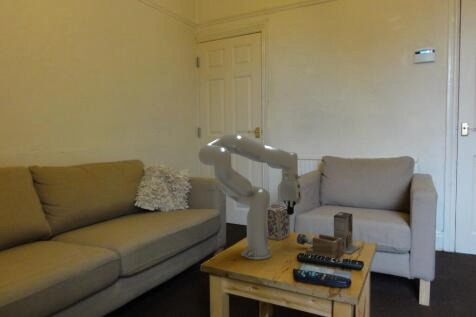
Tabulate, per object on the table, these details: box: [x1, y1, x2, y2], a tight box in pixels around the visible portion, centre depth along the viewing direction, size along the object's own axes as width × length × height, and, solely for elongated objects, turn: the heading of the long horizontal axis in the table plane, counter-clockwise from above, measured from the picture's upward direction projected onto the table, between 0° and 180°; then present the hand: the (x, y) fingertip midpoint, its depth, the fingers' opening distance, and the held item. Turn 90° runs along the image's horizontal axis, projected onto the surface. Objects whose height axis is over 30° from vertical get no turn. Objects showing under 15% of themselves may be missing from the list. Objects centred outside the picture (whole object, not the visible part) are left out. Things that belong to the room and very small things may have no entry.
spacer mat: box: [343, 244, 361, 255], centre depth 168 cm, size 12×12×1 cm
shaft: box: [296, 233, 314, 246], centre depth 165 cm, size 5×14×5 cm, turn 50°
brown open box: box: [305, 233, 344, 259], centre depth 161 cm, size 10×14×8 cm
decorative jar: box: [268, 202, 291, 241], centre depth 189 cm, size 12×12×18 cm
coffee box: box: [333, 211, 354, 251], centre depth 168 cm, size 9×6×16 cm
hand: (290, 214), depth 173 cm, fingers closed
